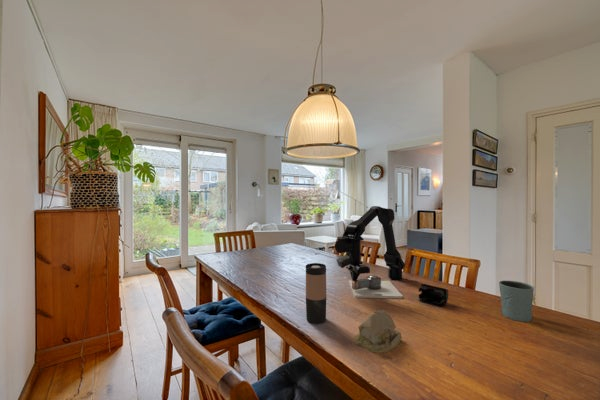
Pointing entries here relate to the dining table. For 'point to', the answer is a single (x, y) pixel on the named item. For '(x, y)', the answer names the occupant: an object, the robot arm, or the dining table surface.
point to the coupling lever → (367, 283)
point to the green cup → (516, 300)
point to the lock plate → (377, 291)
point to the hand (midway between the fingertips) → (354, 282)
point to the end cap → (433, 295)
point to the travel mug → (316, 293)
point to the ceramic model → (378, 333)
